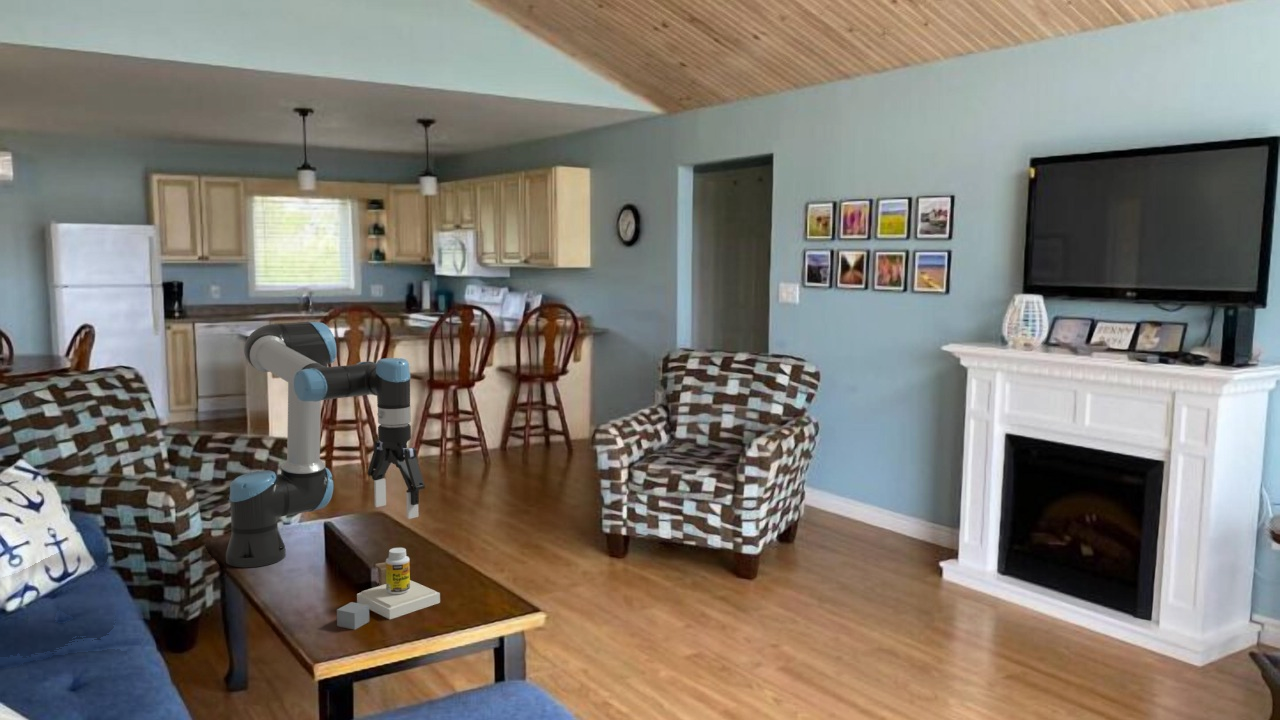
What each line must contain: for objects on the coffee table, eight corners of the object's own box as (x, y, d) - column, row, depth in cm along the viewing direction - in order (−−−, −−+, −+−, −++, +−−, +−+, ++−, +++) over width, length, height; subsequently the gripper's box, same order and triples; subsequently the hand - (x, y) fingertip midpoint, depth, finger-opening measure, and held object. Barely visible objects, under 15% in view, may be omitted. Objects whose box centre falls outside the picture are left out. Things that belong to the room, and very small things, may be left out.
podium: (357, 603, 227) (356, 591, 227) (406, 587, 237) (406, 576, 237) (389, 619, 218) (389, 607, 217) (440, 602, 228) (439, 590, 228)
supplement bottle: (390, 597, 223) (389, 555, 222) (383, 589, 228) (382, 548, 227) (413, 592, 226) (412, 551, 225) (405, 585, 231) (404, 544, 230)
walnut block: (375, 582, 241) (375, 563, 240) (391, 579, 243) (390, 561, 242) (381, 588, 237) (381, 569, 236) (397, 585, 239) (397, 566, 238)
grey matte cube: (337, 626, 214) (336, 609, 213) (351, 618, 218) (351, 601, 218) (355, 630, 212) (354, 613, 211) (369, 622, 217) (368, 605, 216)
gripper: (351, 419, 227) (354, 504, 230) (411, 434, 211) (413, 526, 214) (379, 414, 233) (381, 498, 236) (439, 429, 216) (440, 519, 219)
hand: (396, 511), depth 225 cm, fingers open, 13 cm apart
